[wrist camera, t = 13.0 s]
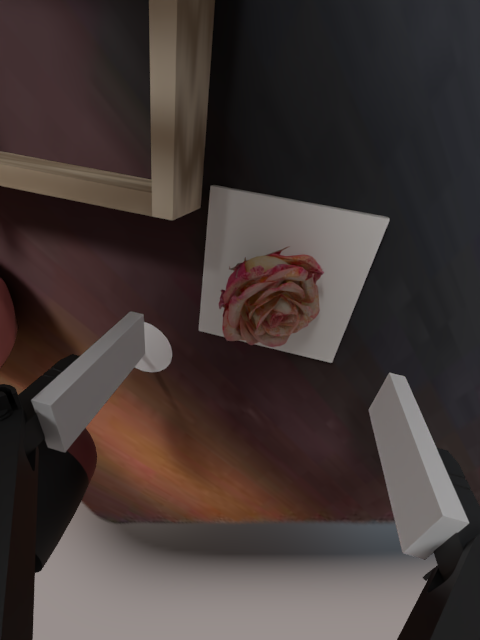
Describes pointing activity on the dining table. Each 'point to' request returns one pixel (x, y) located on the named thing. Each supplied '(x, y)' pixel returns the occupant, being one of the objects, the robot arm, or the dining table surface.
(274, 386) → the dining table surface
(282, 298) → the flower
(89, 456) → the wineglass
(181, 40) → the frame
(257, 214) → the tile
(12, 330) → the cell model
